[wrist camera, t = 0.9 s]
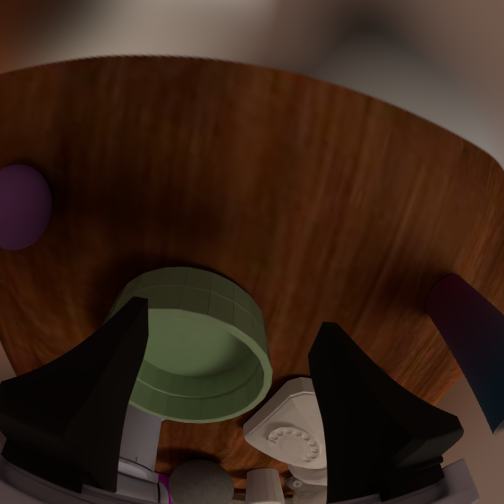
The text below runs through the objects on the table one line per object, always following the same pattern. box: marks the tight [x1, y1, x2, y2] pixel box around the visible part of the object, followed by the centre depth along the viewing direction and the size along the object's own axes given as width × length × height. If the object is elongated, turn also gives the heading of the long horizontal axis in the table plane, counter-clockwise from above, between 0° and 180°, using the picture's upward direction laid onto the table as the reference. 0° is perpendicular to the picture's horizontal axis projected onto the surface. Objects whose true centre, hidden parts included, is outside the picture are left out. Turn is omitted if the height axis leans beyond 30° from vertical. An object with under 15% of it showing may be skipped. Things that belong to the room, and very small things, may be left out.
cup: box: [425, 274, 504, 435], centre depth 18 cm, size 7×7×15 cm
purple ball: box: [0, 164, 52, 250], centre depth 15 cm, size 6×6×6 cm
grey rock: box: [284, 475, 327, 499], centre depth 39 cm, size 14×9×4 cm
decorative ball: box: [169, 459, 234, 504], centre depth 33 cm, size 10×10×10 cm
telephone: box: [243, 377, 327, 486], centre depth 28 cm, size 16×20×9 cm
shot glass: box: [245, 468, 285, 504], centre depth 38 cm, size 7×7×7 cm
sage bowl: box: [103, 267, 273, 423], centre depth 22 cm, size 13×13×6 cm
